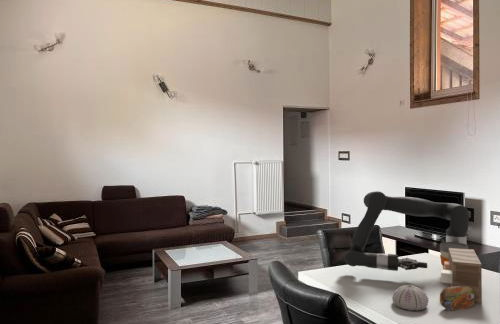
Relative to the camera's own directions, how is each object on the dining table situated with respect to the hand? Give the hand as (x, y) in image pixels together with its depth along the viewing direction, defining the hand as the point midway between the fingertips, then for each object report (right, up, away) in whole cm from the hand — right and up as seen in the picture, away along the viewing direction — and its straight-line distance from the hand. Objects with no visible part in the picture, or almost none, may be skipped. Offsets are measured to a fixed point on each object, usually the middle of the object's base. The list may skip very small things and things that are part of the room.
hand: (427, 265), depth 179 cm
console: (+10, -8, -13) cm, 18 cm away
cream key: (+2, -2, -16) cm, 16 cm away
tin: (-1, -9, -29) cm, 30 cm away
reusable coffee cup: (+18, -8, +10) cm, 22 cm away
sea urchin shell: (-18, -9, -25) cm, 33 cm away
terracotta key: (+10, -2, -4) cm, 11 cm away
